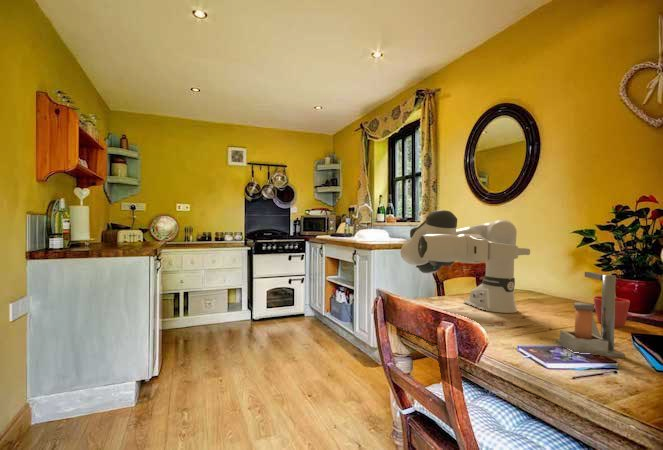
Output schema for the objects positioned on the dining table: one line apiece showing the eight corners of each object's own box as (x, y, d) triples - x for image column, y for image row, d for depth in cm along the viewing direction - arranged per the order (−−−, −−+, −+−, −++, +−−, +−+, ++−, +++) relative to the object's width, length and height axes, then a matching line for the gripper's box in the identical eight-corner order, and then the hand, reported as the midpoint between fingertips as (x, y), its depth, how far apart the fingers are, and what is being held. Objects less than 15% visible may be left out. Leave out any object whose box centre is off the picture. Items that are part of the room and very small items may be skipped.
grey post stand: (573, 354, 96) (576, 276, 96) (547, 337, 110) (549, 269, 111) (625, 357, 94) (627, 278, 94) (591, 340, 109) (593, 271, 109)
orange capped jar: (568, 343, 101) (570, 302, 101) (579, 342, 103) (580, 302, 103) (586, 349, 97) (587, 306, 97) (596, 347, 99) (598, 305, 99)
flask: (605, 339, 110) (606, 308, 110) (580, 337, 112) (581, 306, 112) (593, 332, 117) (594, 303, 117) (569, 330, 119) (570, 302, 119)
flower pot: (586, 319, 135) (587, 294, 136) (618, 321, 133) (619, 296, 133) (602, 326, 125) (603, 300, 125) (636, 329, 123) (637, 302, 123)
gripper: (464, 256, 114) (508, 257, 112) (483, 262, 93) (537, 264, 92) (465, 237, 114) (509, 238, 112) (484, 239, 93) (538, 241, 91)
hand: (522, 250), depth 101 cm, fingers open, 8 cm apart
